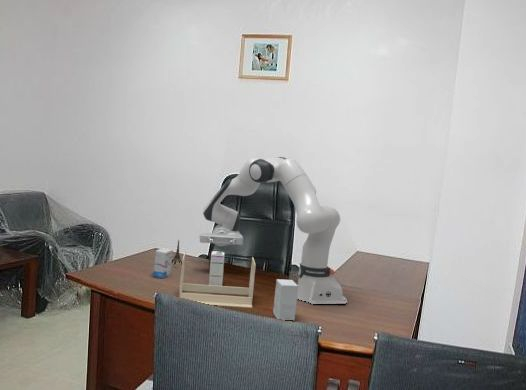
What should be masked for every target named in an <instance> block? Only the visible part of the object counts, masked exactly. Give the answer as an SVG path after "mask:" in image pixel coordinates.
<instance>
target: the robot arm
mask: <svg viewBox="0 0 526 390" xmlns="http://www.w3.org/2000/svg"><path fill="white" fill-rule="evenodd" d="M276 182H280V183H281V184H282V186H283V188H284V189H285V191H286V192H287V195H288V197H289V198H290V200H291V201H292V203H293V205H294V209H295V211H296V212H295V213H296V225H297V228H298V229H299V231H301V232H302V233H304V234H308V236H307V238H306V240H305V242H304V243H303V246H302V250H301V260H300V261H301V262H300V263H299V268H298V281H297V283H296V284H297V285H298V293H297V300H298V299H299V301H301V300H302V302H304V301H306V302H305V303H308V302H309V303H308V304H310V303H311V305H313V304H336V303H346V302H347V303H348V299H347V297H345V296H344V295H343V288H342V285H341V284H340V283H339V282H337V280H336V279H335V278H333V277H332V276H334V275H335V270H334V269H332V268H331V267H329V266H328V263H329V255H330V249H331V248H330V247H331V245H332V241H333V238H334V235H335V232H336V230H337V227H338V226H339V224H340V222H341V216H340V213H339V211H338V210H337V209H336V208H334V207H330V206H328V205H326V206H325V205H320V204H319V202H318V198H317V195H316V194H317V190H316V187H315V186H314V185H313V182H312V181H311V179H310V177H309V176H308V175H307V173H306V172H305V170H304V169H303V167H302V166H301V165H300V163H298V162H297V161H296V160H295V159H294V158H290V157H289V158H287V157H284V156H283V157H282V156H279V157H270V156H269V157H264V158H258V157H251V158H249V159H248V160H247V161H246V162H245V163H244V164H243V166H242V168H241V169H240V171H239V173H238V175H237V176H236V177H234V178H229V179H227V180H226V181H225V182H224V183H223V185H222V186H221V187H220V188H219V190H218V191H216V194H215V195H214V196H213V197H212V198H211V200H210V201H209V202H208V203H207V204H206V205H205V206H204V209H203V211H202V214H203V217H204V219H205V220H207V221H209V222H212V223H215V224H217V225H216V226H215V227H214V228H213V230H212V232H211V233H210V232H202V233H200V235H199V242H200V243H202V244H203V243H204V244H214V245H215V246H217V247H227V246H243V245H244V236H243V235H242V234H241V233H240V231H239V230H237V229H238V227H239V225H240V221H241V215H240V212H239V211H237V210H234V209H232V208H230V207H228V206H226V205H223V204H221V202H223V200H224V199H225V197H227V196H230V195H231V196H241V197H247V196H250V195H253V194H254V193H256V191H257V190H258V188H259V186H260V185H261V184H265V183H276ZM343 300H346V301H343Z"/></svg>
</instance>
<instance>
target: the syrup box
mask: <svg viewBox="0 0 526 390" xmlns="http://www.w3.org/2000/svg"><path fill="white" fill-rule="evenodd" d="M225 254H226V252H224V251H217V250H216V251H214V250H212V251H211V253H210V265H209V279H208V285H216V286H223V281H224V280H223V279H224V269H225V268H224V266H225Z"/></svg>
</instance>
